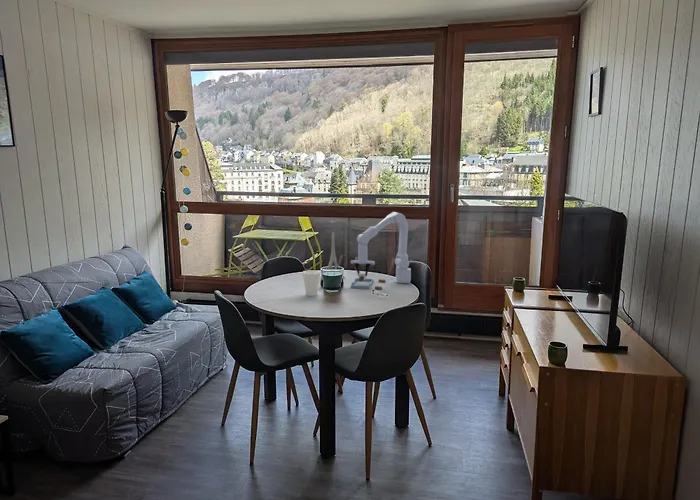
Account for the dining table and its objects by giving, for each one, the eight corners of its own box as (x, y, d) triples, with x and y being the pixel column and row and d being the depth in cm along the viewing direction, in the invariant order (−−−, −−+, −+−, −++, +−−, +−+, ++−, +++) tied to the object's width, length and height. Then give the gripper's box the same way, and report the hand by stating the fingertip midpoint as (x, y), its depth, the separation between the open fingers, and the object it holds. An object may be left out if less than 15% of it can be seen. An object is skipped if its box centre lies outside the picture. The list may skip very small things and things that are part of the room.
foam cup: (317, 297, 278) (317, 274, 276) (301, 296, 280) (300, 273, 278) (321, 292, 287) (321, 270, 285) (306, 291, 289) (305, 269, 287)
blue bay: (373, 281, 315) (373, 277, 314) (369, 288, 296) (369, 285, 296) (356, 280, 317) (356, 277, 316) (350, 287, 298) (350, 284, 298)
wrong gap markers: (385, 281, 314) (385, 279, 313) (381, 289, 294) (381, 287, 294) (379, 281, 314) (379, 279, 314) (374, 289, 295) (374, 286, 295)
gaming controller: (344, 286, 302) (344, 270, 300) (343, 288, 296) (343, 272, 294) (321, 285, 303) (321, 269, 302) (319, 288, 297) (319, 271, 296)
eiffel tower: (321, 275, 332) (321, 230, 327) (341, 274, 334) (341, 230, 329) (324, 279, 319) (324, 233, 314) (345, 278, 321) (345, 232, 316)
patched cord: (367, 277, 311) (367, 270, 310) (364, 281, 299) (364, 275, 299) (360, 276, 312) (360, 270, 311) (357, 281, 300) (357, 274, 299)
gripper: (349, 254, 300) (349, 276, 303) (373, 255, 298) (373, 277, 300) (351, 252, 307) (351, 274, 310) (375, 253, 305) (374, 275, 307)
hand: (362, 275), depth 305 cm, fingers closed on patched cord, 4 cm apart
